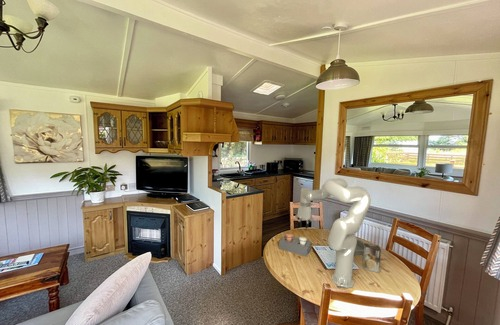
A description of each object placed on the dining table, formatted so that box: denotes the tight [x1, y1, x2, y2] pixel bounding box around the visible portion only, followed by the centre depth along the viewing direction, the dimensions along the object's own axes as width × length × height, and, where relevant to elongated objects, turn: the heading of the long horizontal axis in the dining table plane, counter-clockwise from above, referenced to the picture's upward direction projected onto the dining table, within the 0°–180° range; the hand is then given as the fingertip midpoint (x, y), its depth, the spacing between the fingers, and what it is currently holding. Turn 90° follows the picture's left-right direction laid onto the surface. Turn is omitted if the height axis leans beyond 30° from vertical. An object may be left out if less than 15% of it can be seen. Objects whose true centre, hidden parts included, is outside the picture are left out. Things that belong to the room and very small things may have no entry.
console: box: [278, 234, 313, 258], centre depth 165 cm, size 14×22×6 cm, turn 60°
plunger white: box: [298, 236, 308, 246], centre depth 162 cm, size 6×6×6 cm
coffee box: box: [362, 242, 382, 273], centre depth 142 cm, size 9×6×16 cm
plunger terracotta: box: [285, 232, 294, 242], centre depth 168 cm, size 6×6×6 cm
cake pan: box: [354, 239, 364, 256], centre depth 170 cm, size 25×25×4 cm
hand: (303, 226), depth 161 cm, fingers open, 4 cm apart
